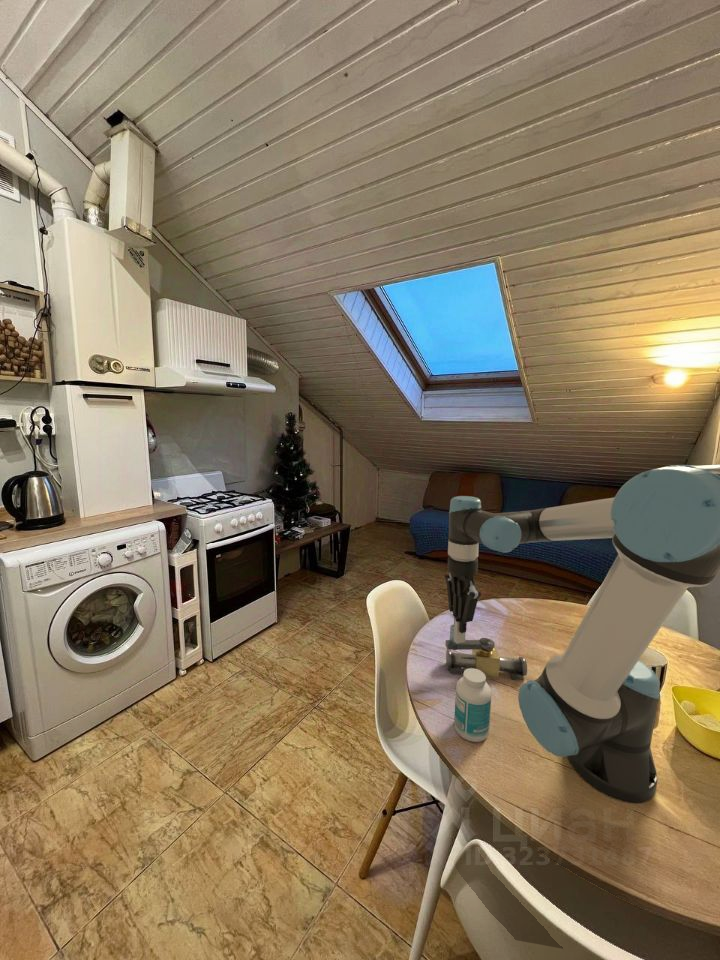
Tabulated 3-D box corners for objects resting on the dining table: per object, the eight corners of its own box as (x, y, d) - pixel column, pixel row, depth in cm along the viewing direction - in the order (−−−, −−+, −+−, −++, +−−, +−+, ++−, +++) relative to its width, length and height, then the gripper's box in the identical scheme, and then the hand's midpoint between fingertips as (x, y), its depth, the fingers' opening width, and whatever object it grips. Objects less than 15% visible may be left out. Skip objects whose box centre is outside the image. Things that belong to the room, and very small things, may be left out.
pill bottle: (492, 726, 84) (497, 672, 82) (483, 750, 78) (488, 692, 76) (459, 711, 88) (463, 659, 86) (448, 733, 82) (452, 677, 80)
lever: (490, 642, 103) (492, 622, 103) (496, 651, 100) (498, 631, 99) (444, 643, 103) (445, 622, 102) (448, 651, 99) (449, 631, 98)
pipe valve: (527, 682, 98) (529, 658, 97) (447, 674, 101) (448, 651, 100) (520, 667, 104) (522, 645, 103) (445, 660, 107) (446, 638, 106)
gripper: (491, 563, 91) (486, 652, 94) (461, 547, 103) (457, 626, 106) (465, 567, 88) (461, 658, 92) (437, 550, 100) (434, 631, 104)
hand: (459, 641), depth 99 cm, fingers closed
